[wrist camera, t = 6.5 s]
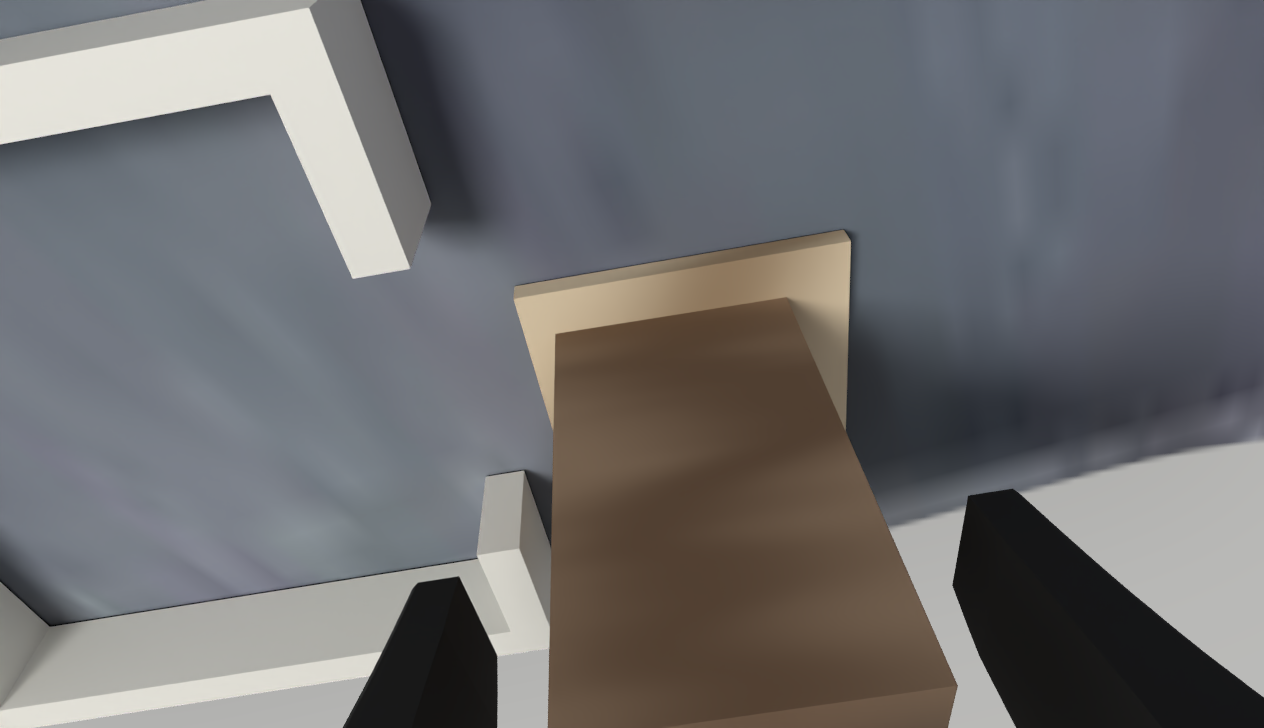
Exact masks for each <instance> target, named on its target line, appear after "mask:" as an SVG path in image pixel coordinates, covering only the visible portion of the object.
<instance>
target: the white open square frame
mask: <svg viewBox="0 0 1264 728" xmlns="http://www.w3.org/2000/svg"><path fill="white" fill-rule="evenodd" d="M265 95H271V97H272V99H273V101H274V104H275V106H276V108H277V110H278V113H279V115H280V117H281V119H282V122H283V124H284V126H285V128H286V130H287V133H288V135H289V137H290V139H291V142H292V144H293V146H294V148H295V151H296V153H297V155H298V157H299V159H300V162H301V164H302V166H303V168H304V171H305V173H306V175H307V177H308V180H309V182H310V184H311V186H312V189H313V191H314V193H315V195H316V197H317V200H318V202H319V204H320V206H321V209H322V211H323V213H324V215H325V218H326V220H327V222H328V224H329V227H330V229H331V231H332V233H333V235H334V238H335V240H336V242H337V244H338V247H339V249H340V251H341V253H342V256H343V258H344V260H345V262H346V264H347V267H348V269H349V271H350V273H351V276H352V278H353V279H354V278H360V277H366V276H371V275H377V274H383V273H389V272H394V271H400V270H406V269H410V268H411V265H412V262H413V259H414V256H415V253H416V250H417V247H418V244H419V241H420V238H421V235H422V232H423V229H424V226H425V223H426V219H427V216H428V213H429V210H430V207H431V202H430V199H429V196H428V193H427V190H426V187H425V184H424V182H423V179H422V176H421V173H420V170H419V167H418V164H417V161H416V159H415V156H414V153H413V150H412V147H411V144H410V141H409V138H408V136H407V133H406V130H405V127H404V124H403V121H402V118H401V115H400V113H399V110H398V107H397V104H396V101H395V98H394V95H393V92H392V90H391V87H390V84H389V81H388V78H387V75H386V72H385V69H384V67H383V64H382V61H381V58H380V55H379V52H378V49H377V47H376V44H375V41H374V38H373V35H372V32H371V29H370V26H369V24H368V21H367V18H366V15H365V12H364V9H363V6H362V3H361V1H360V0H205V1H200V2H195V3H190V4H184V5H179V6H174V7H169V8H163V9H158V10H153V11H147V12H142V13H137V14H132V15H126V16H121V17H116V18H111V19H105V20H100V21H95V22H90V23H84V24H79V25H74V26H69V27H63V28H58V29H53V30H47V31H42V32H37V33H32V34H26V35H21V36H16V37H11V38H5V39H0V144H5V143H11V142H16V141H21V140H27V139H32V138H38V137H43V136H49V135H54V134H59V133H65V132H70V131H76V130H81V129H86V128H92V127H97V126H103V125H108V124H114V123H119V122H124V121H130V120H135V119H141V118H146V117H151V116H157V115H162V114H168V113H173V112H179V111H184V110H189V109H195V108H200V107H206V106H211V105H217V104H222V103H227V102H233V101H238V100H244V99H249V98H254V97H260V96H265ZM477 557H478V559H475V560H469V561H463V562H456V563H450V564H444V565H437V566H431V567H425V568H418V569H412V570H406V571H399V572H393V573H387V574H381V575H374V576H368V577H362V578H355V579H349V580H343V581H336V582H330V583H324V584H318V585H311V586H305V587H299V588H292V589H286V590H280V591H273V592H267V593H261V594H254V595H248V596H242V597H236V598H229V599H223V600H217V601H210V602H204V603H198V604H191V605H185V606H179V607H172V608H166V609H160V610H154V611H147V612H141V613H135V614H128V615H122V616H116V617H109V618H103V619H97V620H91V621H84V622H78V623H72V624H65V625H59V626H53V627H49V626H48V625H47V624H46V623H45V622H44V621H43V620H42V619H41V618H39V617H38V616H37V615H36V614H35V613H34V612H33V611H32V610H31V609H30V608H28V607H27V606H26V605H25V604H24V603H23V602H22V601H21V600H20V599H18V598H17V597H16V596H15V595H14V594H13V593H12V592H11V591H10V590H9V589H7V588H6V587H5V586H4V585H3V584H2V583H1V582H0V728H35V727H42V726H48V725H55V724H61V723H68V722H74V721H80V720H87V719H94V718H100V717H107V716H113V715H120V714H126V713H133V712H139V711H146V710H152V709H159V708H165V707H172V706H179V705H185V704H191V703H198V702H205V701H211V700H218V699H224V698H230V697H237V696H244V695H250V694H257V693H263V692H270V691H276V690H283V689H289V688H296V687H302V686H309V685H315V684H322V683H328V682H335V681H341V680H348V679H355V678H361V677H367V676H370V675H371V673H372V671H373V669H374V667H375V665H376V663H377V661H378V659H379V657H380V655H381V653H382V651H383V649H384V647H385V645H386V643H387V641H388V639H389V637H390V635H391V633H392V631H393V629H394V626H395V624H396V622H397V620H398V618H399V616H400V614H401V612H402V610H403V608H404V605H405V603H406V601H407V599H408V597H409V595H410V593H411V590H412V589H413V587H414V586H415V585H416V584H417V583H419V582H425V581H432V580H438V579H444V578H451V577H457V576H459V577H460V579H461V581H462V583H463V585H464V587H465V590H466V592H467V594H468V596H469V598H470V600H471V602H472V604H473V606H474V608H475V610H476V612H477V614H478V616H479V618H480V621H481V623H482V625H483V627H484V629H485V631H486V633H487V635H488V637H489V639H490V641H491V643H492V645H493V647H494V649H495V652H496V654H497V657H498V656H504V655H511V654H517V653H524V652H531V651H537V650H543V649H549V642H550V589H551V547H550V544H549V541H548V538H547V535H546V532H545V529H544V527H543V524H542V521H541V518H540V515H539V512H538V509H537V506H536V504H535V501H534V498H533V495H532V492H531V489H530V486H529V483H528V481H527V478H526V475H525V472H524V471H518V472H512V473H506V474H500V475H494V476H487V477H486V480H485V488H484V497H483V505H482V514H481V523H480V531H479V540H478V548H477Z"/></svg>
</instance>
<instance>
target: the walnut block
mask: <svg viewBox="0 0 1264 728" xmlns="http://www.w3.org/2000/svg"><path fill="white" fill-rule="evenodd" d="M957 686H958V685H957V683H956V681H955V679H954V676H953V674H952V672H951V669H950V667H949V665H948V663H947V661H946V658H945V656H944V654H943V651H942V649H941V647H940V645H939V642H938V640H937V638H936V635H935V633H934V631H933V629H932V626H931V624H930V622H929V620H928V617H927V615H926V613H925V610H924V608H923V606H922V604H921V601H920V599H919V597H918V595H917V592H916V590H915V588H914V585H913V584H912V581H911V579H910V576H909V574H908V572H907V570H906V567H905V565H904V563H903V561H902V558H901V556H900V554H899V551H898V549H897V547H896V545H895V542H894V540H893V538H892V536H891V533H890V531H889V529H888V526H887V524H886V522H885V520H884V517H883V515H882V513H881V510H880V508H879V506H878V504H877V501H876V499H875V497H874V495H873V492H872V490H871V488H870V485H869V483H868V481H867V479H866V476H865V474H864V472H863V470H862V467H861V465H860V463H859V460H858V458H857V456H856V454H855V451H854V449H853V447H852V445H851V442H850V440H849V438H848V436H847V433H846V431H845V429H844V426H843V424H842V422H841V420H840V417H839V415H838V413H837V411H836V408H835V406H834V404H833V401H832V399H831V397H830V395H829V392H828V390H827V388H826V386H825V383H824V381H823V379H822V376H821V374H820V372H819V370H818V367H817V365H816V363H815V361H814V358H813V356H812V354H811V351H810V349H809V347H808V345H807V342H806V340H805V338H804V336H803V333H802V331H801V329H800V327H799V324H798V322H797V320H796V317H795V315H794V313H793V311H792V308H791V306H790V304H789V302H788V299H787V297H784V298H778V299H771V300H765V301H759V302H753V303H746V304H740V305H734V306H727V307H721V308H715V309H709V310H702V311H696V312H690V313H683V314H677V315H671V316H664V317H658V318H652V319H646V320H639V321H633V322H627V323H620V324H614V325H608V326H602V327H595V328H589V329H583V330H576V331H570V332H564V333H558V334H555V376H554V429H553V483H552V536H551V589H550V642H549V695H548V696H549V697H548V698H549V699H548V728H948V724H949V720H950V716H951V712H952V708H953V703H954V699H955V695H956V690H957Z"/></svg>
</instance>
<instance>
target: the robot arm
mask: <svg viewBox="0 0 1264 728" xmlns="http://www.w3.org/2000/svg"><path fill="white" fill-rule="evenodd" d="M953 588H954V591H955V593H956V596H957V599H958V601H959V604H960V607H961V609H962V612H963V615H964V618H965V620H966V623H967V625H968V628H969V631H970V633H971V635H972V638H973V641H974V643H975V646H976V648H977V651H978V653H979V656H980V658H981V660H982V662H983V664H984V666H985V668H986V670H987V672H988V674H989V676H990V677H991V680H992V682H993V684H994V686H995V687H996V689H997V691H998V693H999V695H1000V697H1001V699H1002V701H1003V703H1004V705H1005V707H1006V709H1007V711H1008V713H1009V714H1010V716H1011V718H1012V720H1013V722H1014V724H1015V726H1016V728H1264V697H1262V696H1261V695H1260V694H1258V693H1257V692H1256V691H1254V690H1253V689H1252V688H1250V687H1249V686H1247V685H1246V684H1245V683H1244V682H1242V681H1241V680H1240V679H1238V678H1237V677H1236V676H1235V675H1233V674H1232V673H1230V672H1229V671H1228V670H1227V669H1225V668H1224V667H1223V666H1221V665H1220V664H1219V663H1218V662H1216V661H1215V660H1214V659H1212V658H1211V657H1210V656H1208V655H1207V654H1206V653H1205V652H1203V651H1202V650H1201V649H1200V648H1198V647H1197V646H1196V645H1195V644H1193V643H1192V642H1191V641H1190V640H1188V639H1187V638H1186V637H1185V636H1183V635H1182V634H1181V633H1179V632H1178V631H1177V630H1176V629H1175V628H1173V627H1172V626H1171V625H1170V624H1169V623H1167V622H1166V621H1165V620H1164V619H1163V618H1161V617H1160V616H1159V615H1158V614H1157V613H1155V612H1154V611H1153V610H1152V609H1151V608H1149V607H1148V606H1147V605H1146V604H1145V603H1143V602H1142V601H1141V600H1140V599H1138V598H1137V597H1136V596H1135V595H1134V594H1132V593H1131V592H1130V591H1129V590H1128V589H1126V588H1125V587H1124V586H1123V585H1122V584H1120V583H1119V582H1118V581H1117V580H1116V579H1115V578H1114V577H1112V576H1111V575H1110V574H1109V573H1108V572H1107V571H1105V570H1104V569H1103V568H1102V567H1101V566H1100V565H1099V564H1098V563H1096V562H1095V561H1094V560H1093V559H1092V558H1091V557H1089V556H1088V555H1087V554H1086V553H1085V552H1084V551H1083V550H1082V549H1080V548H1079V547H1078V546H1077V545H1076V544H1075V543H1074V542H1072V541H1071V540H1070V539H1069V538H1068V537H1067V536H1066V535H1065V534H1064V533H1062V532H1061V531H1060V530H1059V529H1058V528H1057V527H1056V526H1055V525H1054V524H1052V523H1051V522H1050V521H1049V520H1048V519H1047V518H1046V517H1045V516H1044V515H1042V514H1041V513H1040V512H1039V511H1038V510H1037V509H1036V508H1035V507H1034V506H1033V505H1032V504H1030V503H1029V502H1028V501H1027V500H1026V499H1025V498H1024V497H1023V496H1022V495H1020V494H1019V493H1018V492H1017V491H1015V490H1014V489H1008V490H1002V491H995V492H989V493H983V494H976V495H970V496H968V500H967V506H966V512H965V517H964V523H963V529H962V535H961V540H960V546H959V551H958V557H957V563H956V569H955V574H954V580H953ZM497 693H498V692H497V654H496V652H495V649H494V647H493V645H492V643H491V641H490V639H489V637H488V635H487V633H486V631H485V629H484V627H483V625H482V623H481V621H480V618H479V616H478V614H477V612H476V610H475V608H474V606H473V604H472V602H471V600H470V598H469V596H468V594H467V592H466V590H465V587H464V585H463V583H462V581H461V579H460V577H459V576H457V577H451V578H444V579H438V580H432V581H425V582H419V583H417V584H416V585H415V586H414V587H413V589H412V590H411V593H410V595H409V597H408V599H407V601H406V603H405V605H404V608H403V610H402V612H401V614H400V616H399V618H398V620H397V622H396V624H395V626H394V629H393V631H392V633H391V635H390V637H389V639H388V641H387V643H386V645H385V647H384V649H383V651H382V653H381V655H380V657H379V659H378V661H377V663H376V665H375V667H374V669H373V671H372V673H371V675H370V677H369V679H368V681H367V683H366V685H365V687H364V689H363V691H362V693H361V695H360V696H359V698H358V700H357V702H356V704H355V706H354V708H353V710H352V711H351V713H350V715H349V717H348V719H347V721H346V723H345V724H344V726H343V728H497Z"/></svg>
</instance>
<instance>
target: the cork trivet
mask: <svg viewBox="0 0 1264 728" xmlns="http://www.w3.org/2000/svg"><path fill="white" fill-rule="evenodd" d="M850 257H851V240H850V239H849V237H848V236H847V234H846V233H845V231H844V230H839V231H833V232H827V233H821V234H816V235H810V236H804V237H798V238H792V239H787V240H781V241H775V242H769V243H763V244H758V245H752V246H746V247H740V248H734V249H729V250H723V251H717V252H711V253H705V254H700V255H694V256H688V257H682V258H676V259H671V260H665V261H659V262H653V263H647V264H642V265H636V266H630V267H624V268H618V269H612V270H607V271H601V272H595V273H589V274H583V275H578V276H572V277H566V278H560V279H554V280H549V281H543V282H537V283H531V284H525V285H520V286H515V290H514V302H515V305H516V309H517V312H518V315H519V319H520V322H521V325H522V329H523V332H524V335H525V339H526V342H527V345H528V349H529V352H530V355H531V359H532V362H533V365H534V369H535V372H536V375H537V379H538V382H539V385H540V389H541V392H542V395H543V399H544V402H545V405H546V409H547V412H548V415H549V419H550V422H551V425H552V429H554V376H555V334H558V333H564V332H570V331H576V330H583V329H589V328H595V327H602V326H608V325H614V324H620V323H627V322H633V321H639V320H646V319H652V318H658V317H664V316H671V315H677V314H683V313H690V312H696V311H702V310H709V309H715V308H721V307H727V306H734V305H740V304H746V303H753V302H759V301H765V300H771V299H778V298H784V297H787V299H788V302H789V304H790V306H791V308H792V311H793V313H794V315H795V317H796V320H797V322H798V324H799V327H800V329H801V331H802V333H803V336H804V338H805V340H806V342H807V345H808V347H809V349H810V351H811V354H812V356H813V358H814V361H815V363H816V365H817V367H818V370H819V372H820V374H821V376H822V379H823V381H824V383H825V386H826V388H827V390H828V392H829V395H830V397H831V399H832V401H833V404H834V406H835V408H836V411H837V413H838V415H839V417H840V420H841V422H842V424H843V426H844V429H845V431H846V405H847V368H848V331H849V294H850Z"/></svg>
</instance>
